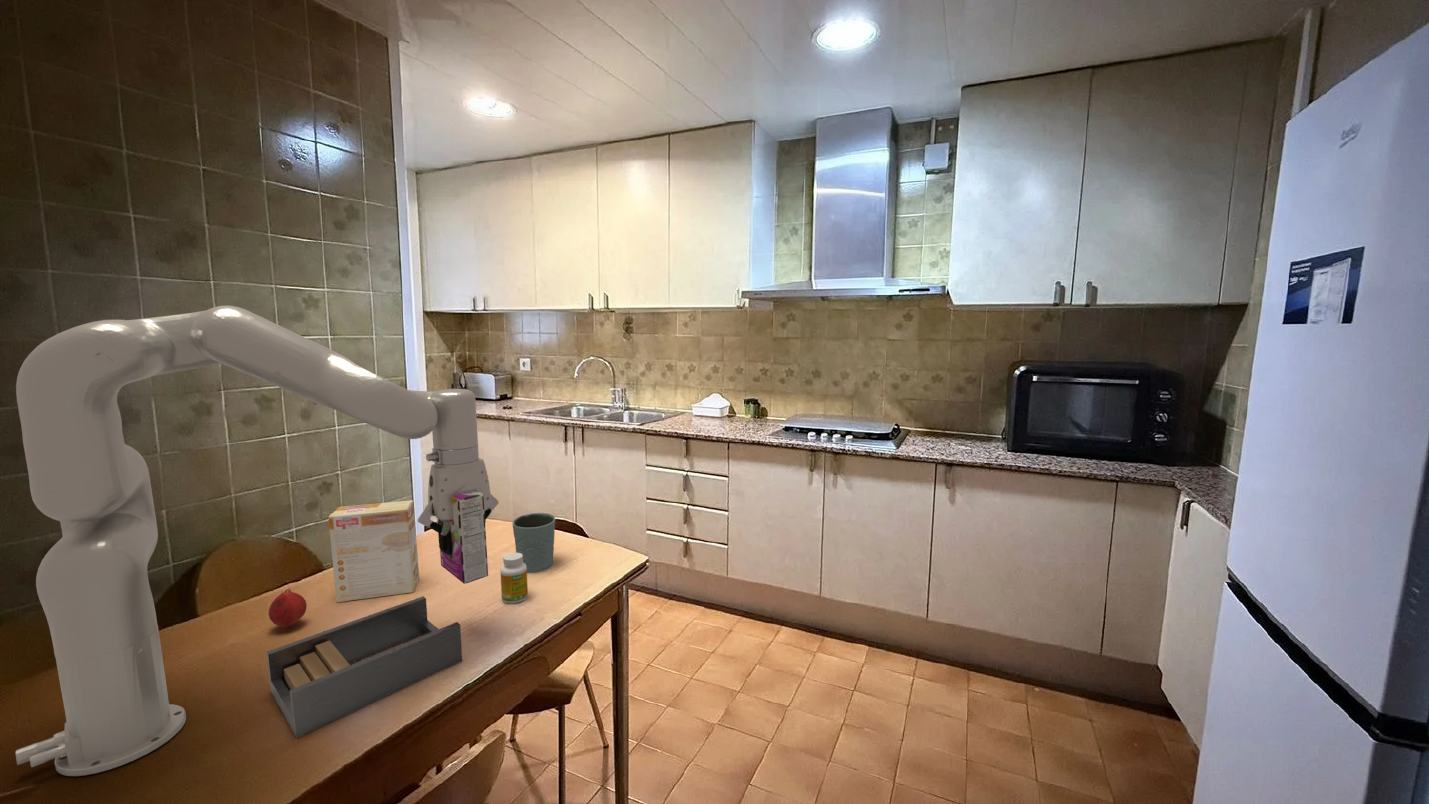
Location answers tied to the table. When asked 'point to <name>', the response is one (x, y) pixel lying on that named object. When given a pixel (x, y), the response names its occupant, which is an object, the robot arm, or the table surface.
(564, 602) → the table surface
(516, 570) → the supplement bottle
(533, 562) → the grey green cup
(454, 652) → the rack
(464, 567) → the candy bar box
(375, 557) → the coffeecake box
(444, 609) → the table surface
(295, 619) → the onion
